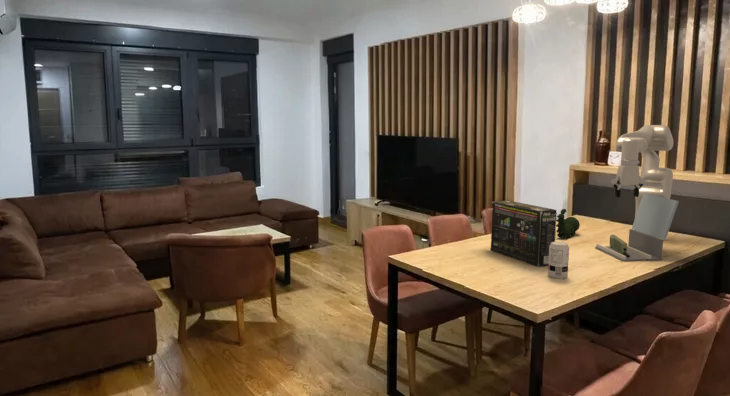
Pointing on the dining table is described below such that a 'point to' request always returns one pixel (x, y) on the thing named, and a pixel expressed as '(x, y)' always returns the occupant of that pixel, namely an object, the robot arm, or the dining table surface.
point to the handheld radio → (618, 245)
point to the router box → (523, 231)
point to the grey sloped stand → (637, 248)
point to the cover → (655, 215)
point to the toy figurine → (566, 225)
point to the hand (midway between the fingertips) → (626, 196)
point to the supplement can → (558, 260)
